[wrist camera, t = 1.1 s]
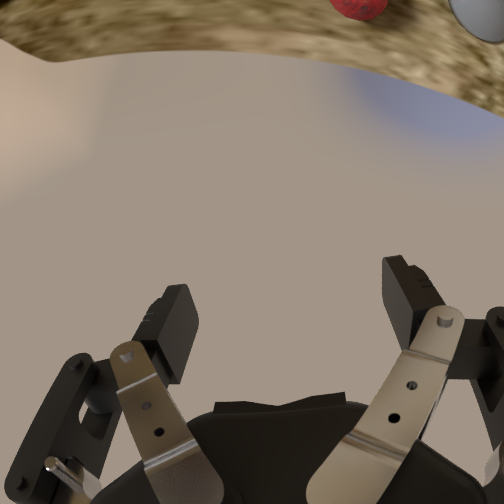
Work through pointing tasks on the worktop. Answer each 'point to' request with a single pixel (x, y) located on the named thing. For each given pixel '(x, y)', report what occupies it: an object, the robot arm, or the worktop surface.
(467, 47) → the worktop surface
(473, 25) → the coaster
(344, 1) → the onion
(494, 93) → the worktop surface
